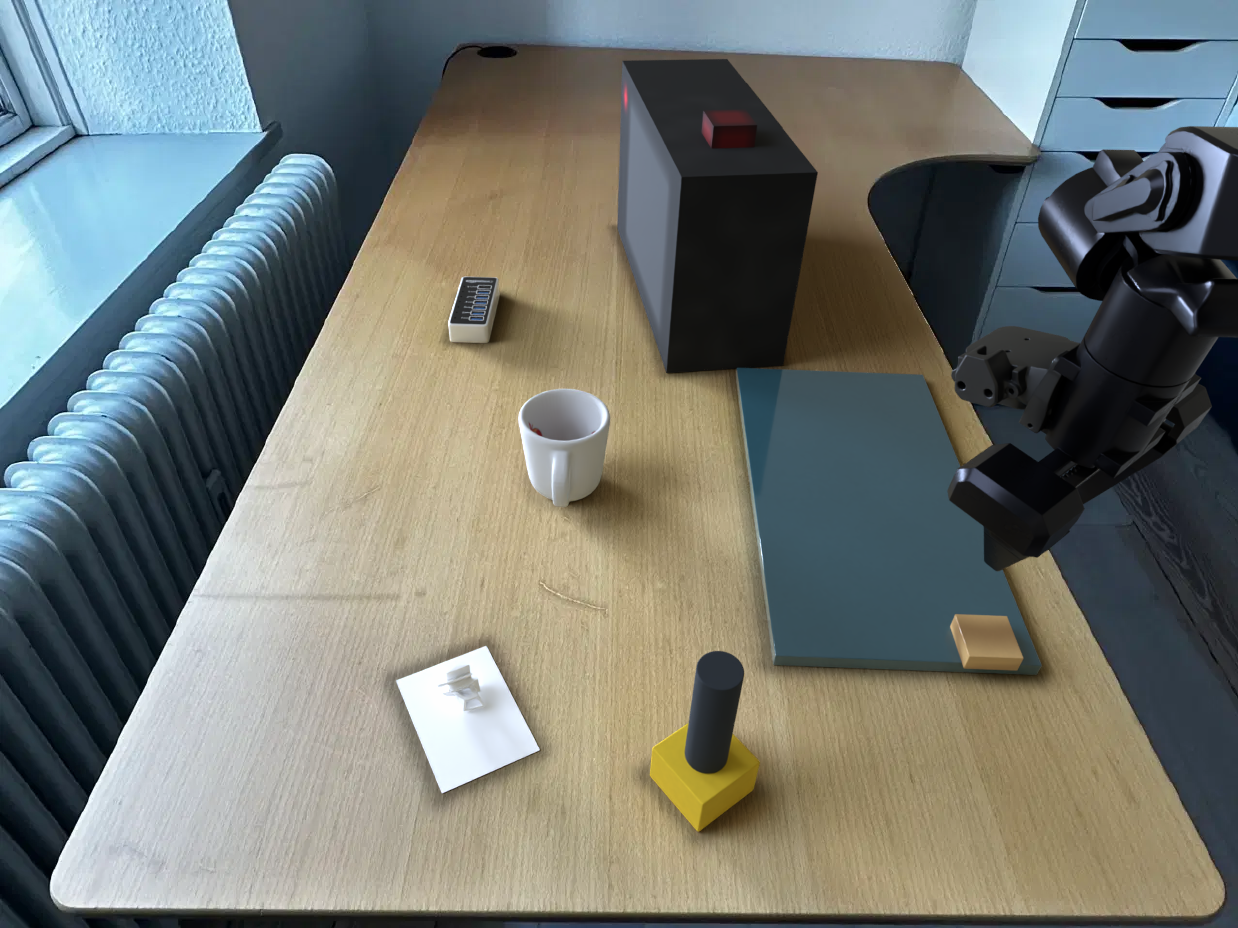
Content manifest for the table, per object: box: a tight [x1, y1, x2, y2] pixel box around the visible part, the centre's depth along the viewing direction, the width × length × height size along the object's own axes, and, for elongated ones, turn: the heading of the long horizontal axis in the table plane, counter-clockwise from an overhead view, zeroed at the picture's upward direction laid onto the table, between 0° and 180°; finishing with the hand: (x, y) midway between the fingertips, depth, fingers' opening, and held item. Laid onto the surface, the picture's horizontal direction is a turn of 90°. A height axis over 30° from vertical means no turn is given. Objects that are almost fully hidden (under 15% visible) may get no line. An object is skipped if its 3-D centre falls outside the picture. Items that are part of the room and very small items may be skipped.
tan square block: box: [950, 614, 1023, 670], centre depth 67 cm, size 4×4×2 cm
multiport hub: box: [447, 276, 500, 344], centre depth 103 cm, size 4×11×2 cm, turn 179°
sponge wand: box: [649, 650, 761, 833], centre depth 56 cm, size 5×5×12 cm
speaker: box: [616, 58, 819, 374], centre depth 103 cm, size 15×35×24 cm, turn 9°
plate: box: [735, 367, 1043, 676], centre depth 81 cm, size 38×20×1 cm, turn 179°
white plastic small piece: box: [437, 664, 486, 712], centre depth 63 cm, size 3×3×3 cm
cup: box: [518, 388, 611, 508], centre depth 79 cm, size 11×8×8 cm
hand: (1033, 533), depth 60 cm, fingers open, 9 cm apart
